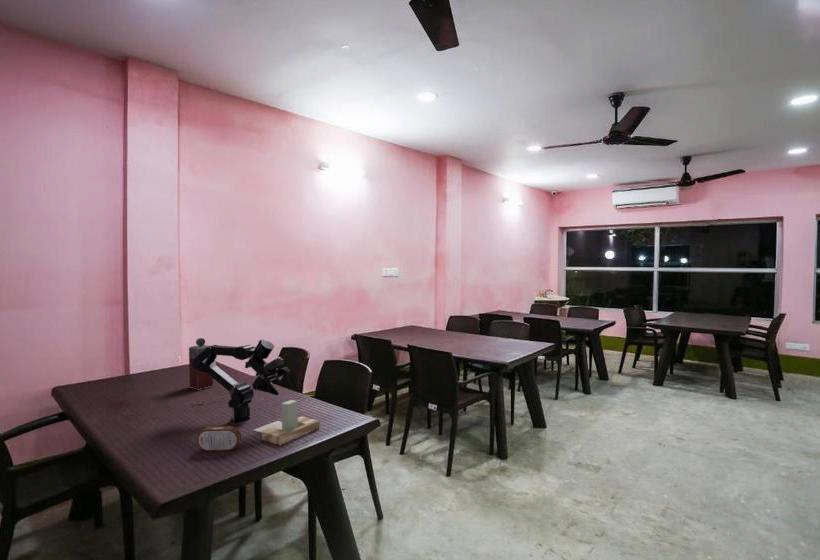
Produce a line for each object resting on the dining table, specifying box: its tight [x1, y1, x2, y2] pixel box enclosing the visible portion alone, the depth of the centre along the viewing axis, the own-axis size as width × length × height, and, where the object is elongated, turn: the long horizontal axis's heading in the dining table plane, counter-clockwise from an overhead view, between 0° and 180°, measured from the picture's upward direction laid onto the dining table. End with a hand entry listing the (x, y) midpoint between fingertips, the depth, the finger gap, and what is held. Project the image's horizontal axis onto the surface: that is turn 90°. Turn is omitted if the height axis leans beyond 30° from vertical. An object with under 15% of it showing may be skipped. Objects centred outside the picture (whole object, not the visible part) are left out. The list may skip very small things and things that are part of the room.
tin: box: [196, 425, 242, 452], centre depth 150 cm, size 15×3×8 cm, turn 92°
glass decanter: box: [188, 337, 214, 389], centre depth 234 cm, size 9×11×28 cm
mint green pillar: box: [281, 399, 299, 432], centre depth 164 cm, size 7×8×12 cm
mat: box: [253, 420, 282, 434], centre depth 170 cm, size 10×12×1 cm
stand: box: [261, 416, 321, 446], centre depth 164 cm, size 10×20×3 cm, turn 147°
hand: (285, 391), depth 173 cm, fingers open, 9 cm apart
